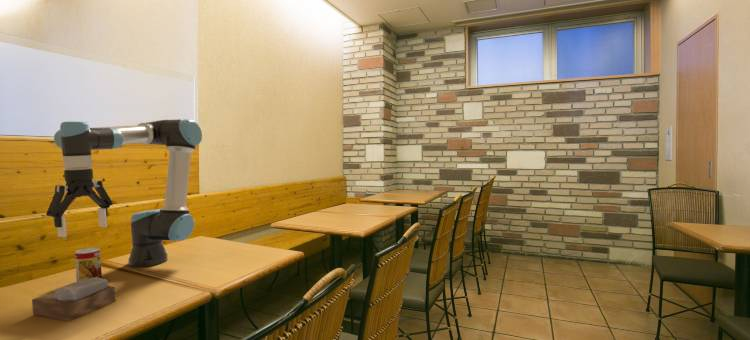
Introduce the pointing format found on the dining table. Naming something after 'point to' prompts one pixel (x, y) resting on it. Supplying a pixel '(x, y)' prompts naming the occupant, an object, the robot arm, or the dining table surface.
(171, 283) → the dining table surface
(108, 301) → the walnut plinth
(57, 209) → the robot arm
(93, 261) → the canned food
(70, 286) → the stone block
